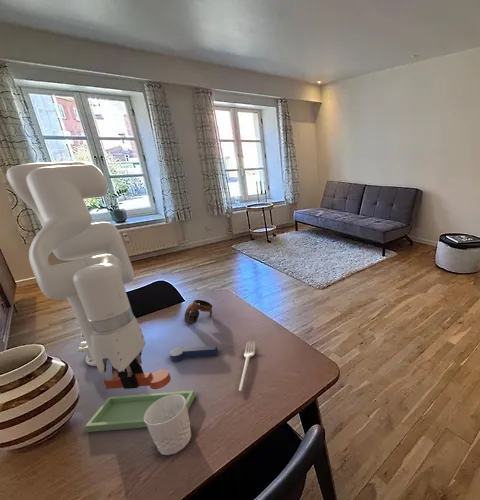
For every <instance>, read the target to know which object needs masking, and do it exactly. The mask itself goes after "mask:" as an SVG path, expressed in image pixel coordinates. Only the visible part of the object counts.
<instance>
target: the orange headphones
mask: <svg viewBox="0 0 480 500" xmlns="http://www.w3.org/2000/svg"><path fill="white" fill-rule="evenodd" d="M212 308H213V305H212V303H210V302H208V301H206V300H203V299H193V301H192V303H190V304H189V305H188V306H186V309H185V312H184V320H183V322H185V324H187V325H191V324H196V323H197V322H198V318H199V316H200V312H205V313H206V312H207V313H209V318H211V317H213V309H212Z"/></svg>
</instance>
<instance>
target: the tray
mask: <svg viewBox="0 0 480 500" xmlns="http://www.w3.org/2000/svg"><path fill="white" fill-rule="evenodd" d="M172 394H178V395H182V396H183V397H184V398H185V400H186V405H187V410H188V411H189V409H190V407H191V405H192V404H193V401H194V399H195V397H196V393H195V390H181V391H179V390H178V391H168V392H166V391H165V392H154V393H141V394H127V395H116V396H115V395H114V396H109V397H108V398H107V399H106V400H105V401H104V403H103V404H102V405H101V406H100V407H99V408H98V410H97V411H96V412H95V413H94V414H93V416H92V417H91V418H90V419H89V421H88V422H87V423H86V424H85V426H84V428H85V430H86V432H87V433H91V432H92V433H93V432H103V431H105V432H106V431H117V430H126V429H127V430H129V429H139V428H141V429H142V428H147V426H146V423H145V421H144V414H145V412H146V410H147V409H148V408H149V407H150V405H152V404H153V403H154V402H155V401H157V400H158V399H160V398H162V397H165V396H168V395H172Z"/></svg>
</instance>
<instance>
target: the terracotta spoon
mask: <svg viewBox="0 0 480 500" xmlns="http://www.w3.org/2000/svg"><path fill="white" fill-rule="evenodd" d="M135 375H136V378H137V381H138V384H139V386H138V388H139V387H148V386H149V388H150V389H151V390H160V389H162V388H164V387H166V386H167V385H168V384H169V383H171V379H172V378H171V374H170V371H169V370H168V369H159V370H156V371H154V372H153V373H152V372H149V371H148V372H143V373H137V374H135ZM102 382H103V385H104V387H105V389H106V390H112V389H124V388H123V385H122V382H121V380H120V378H118V379H116V380H114V381H107V380H106V378H104V380H102Z"/></svg>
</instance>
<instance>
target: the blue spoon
mask: <svg viewBox="0 0 480 500" xmlns="http://www.w3.org/2000/svg"><path fill="white" fill-rule="evenodd" d="M218 353H219V349H218V346H217V345H209V346H208V345H207V346H195V347H194V346H192V347H191V346H190V347H185V346H177V347H174V348H173V349H171V350H170V352H169V357H170V360H171V362H178V361H182V360H183V359H189V358H202V357H216V356H217V354H218Z"/></svg>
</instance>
